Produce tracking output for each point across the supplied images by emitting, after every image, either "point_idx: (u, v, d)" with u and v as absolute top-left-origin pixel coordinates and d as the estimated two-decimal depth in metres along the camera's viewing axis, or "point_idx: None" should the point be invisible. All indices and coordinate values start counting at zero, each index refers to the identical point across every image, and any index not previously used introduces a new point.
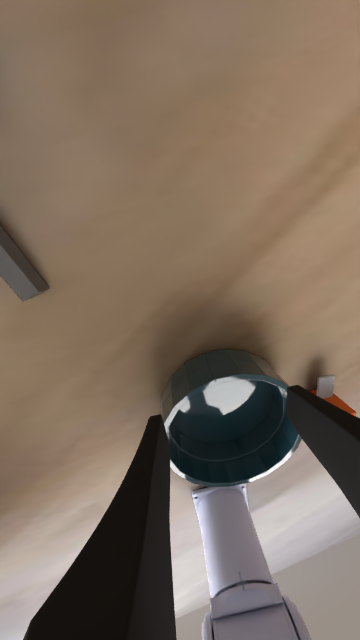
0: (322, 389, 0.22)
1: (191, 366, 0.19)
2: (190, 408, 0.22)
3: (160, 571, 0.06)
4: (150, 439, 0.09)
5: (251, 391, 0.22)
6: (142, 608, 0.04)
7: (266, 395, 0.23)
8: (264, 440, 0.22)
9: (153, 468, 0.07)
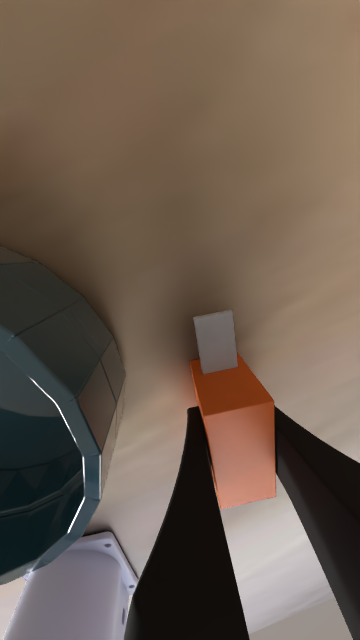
0: (208, 347, 0.09)
1: None
2: None
3: None
4: (196, 429, 0.09)
5: None
6: None
7: None
8: (77, 470, 0.10)
9: (207, 457, 0.07)
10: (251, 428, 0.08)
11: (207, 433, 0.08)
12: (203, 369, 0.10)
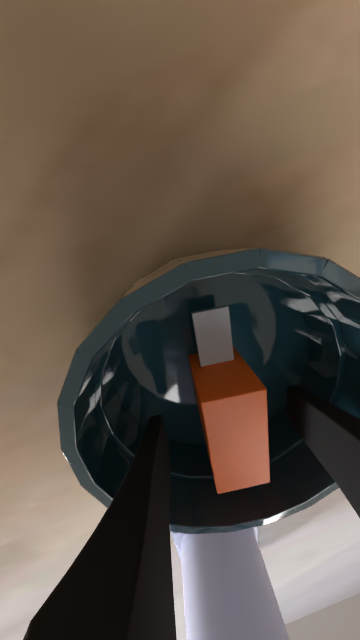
0: (205, 341, 0.10)
1: (145, 277, 0.09)
2: (155, 379, 0.12)
3: (160, 571, 0.06)
4: (150, 439, 0.09)
5: (270, 347, 0.12)
6: (142, 608, 0.04)
7: (297, 356, 0.12)
8: (293, 440, 0.12)
9: (152, 469, 0.07)
10: (246, 416, 0.08)
11: (204, 420, 0.08)
12: (201, 362, 0.10)
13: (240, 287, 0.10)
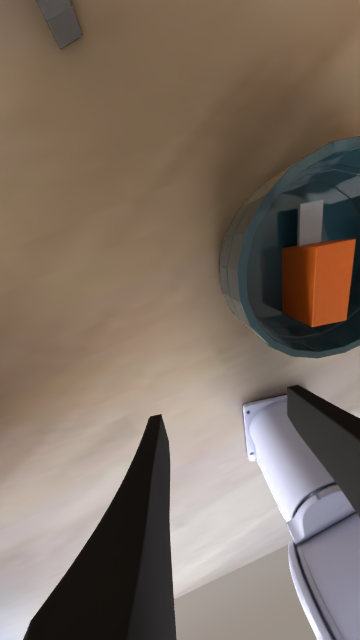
0: (305, 225, 0.15)
1: None
2: (257, 268, 0.17)
3: (160, 571, 0.06)
4: (150, 439, 0.09)
5: None
6: (142, 608, 0.04)
7: (354, 253, 0.17)
8: (353, 310, 0.17)
9: (152, 469, 0.07)
10: (340, 259, 0.13)
11: (316, 260, 0.13)
12: (300, 242, 0.15)
13: (323, 195, 0.16)
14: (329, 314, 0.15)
